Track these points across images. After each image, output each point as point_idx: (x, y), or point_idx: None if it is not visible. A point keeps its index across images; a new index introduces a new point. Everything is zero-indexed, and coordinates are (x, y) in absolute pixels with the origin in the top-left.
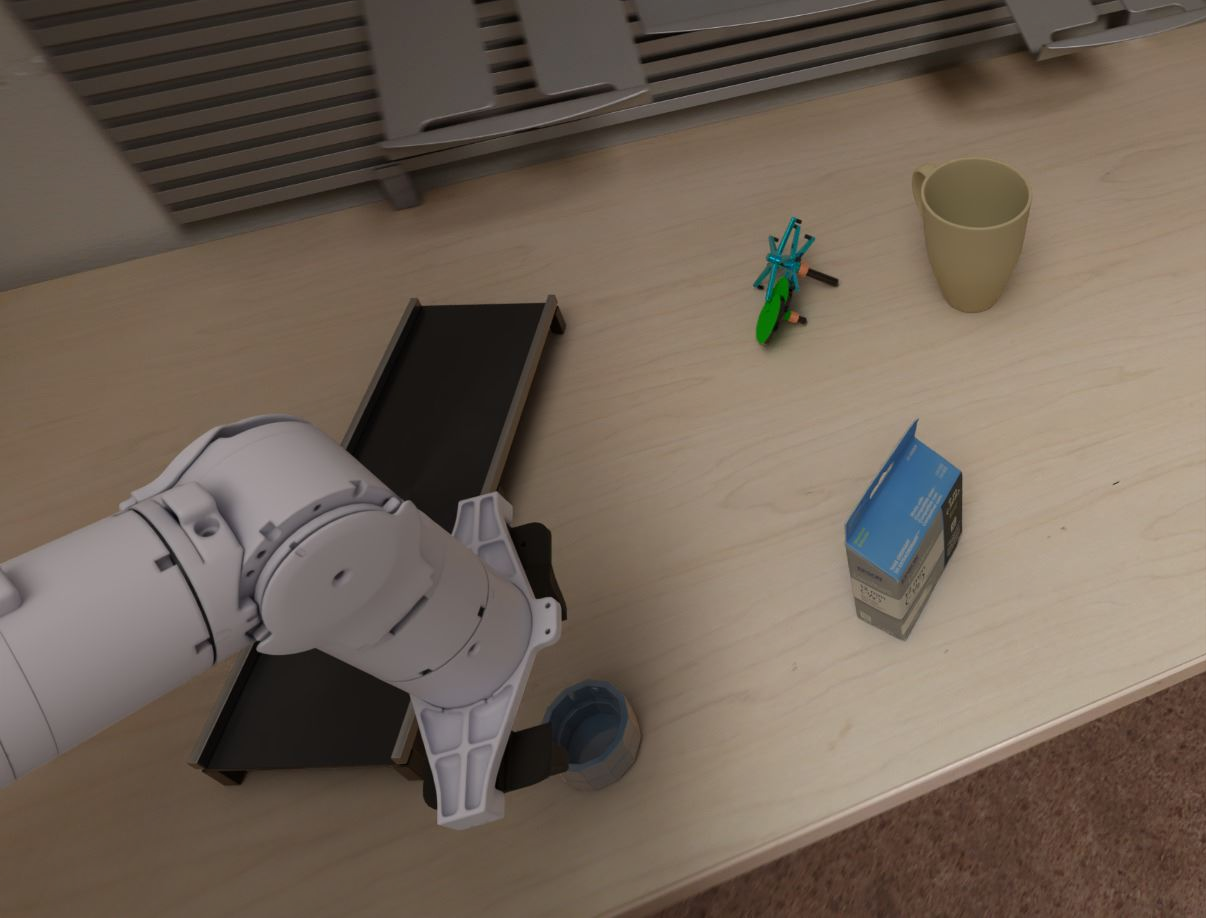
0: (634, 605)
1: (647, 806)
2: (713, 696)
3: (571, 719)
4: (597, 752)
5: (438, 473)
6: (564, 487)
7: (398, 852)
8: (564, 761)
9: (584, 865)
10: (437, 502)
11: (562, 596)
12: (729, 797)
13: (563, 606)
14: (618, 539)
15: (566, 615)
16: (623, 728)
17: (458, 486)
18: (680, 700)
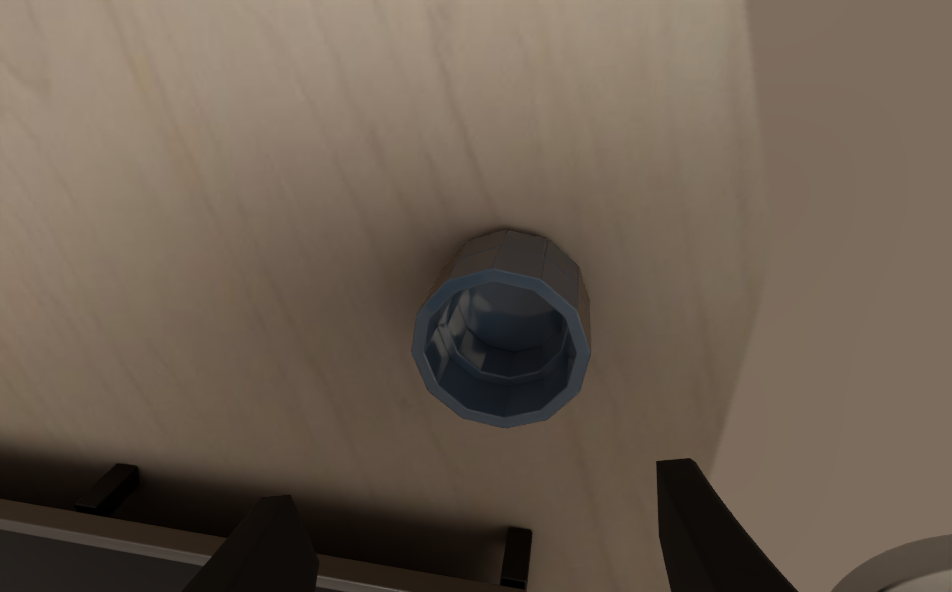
0: (266, 256)
1: (625, 208)
2: (437, 89)
3: (473, 359)
4: (525, 303)
5: (70, 589)
6: (72, 388)
7: (623, 548)
8: (715, 509)
9: (700, 306)
10: (117, 586)
11: (216, 555)
12: (638, 42)
13: (248, 545)
14: (148, 293)
15: (277, 508)
16: (515, 277)
17: (85, 562)
18: (441, 158)
